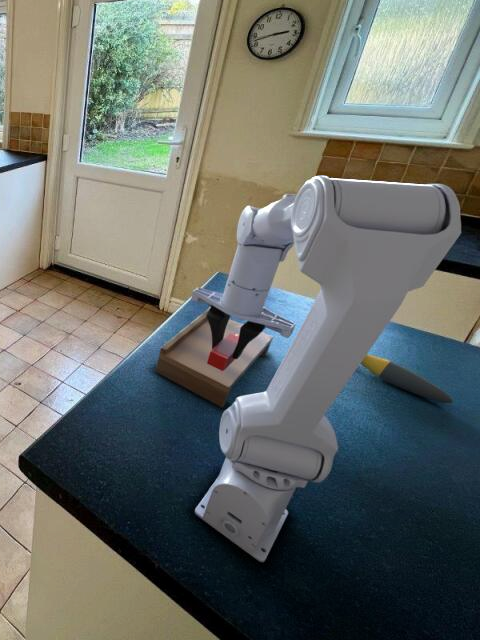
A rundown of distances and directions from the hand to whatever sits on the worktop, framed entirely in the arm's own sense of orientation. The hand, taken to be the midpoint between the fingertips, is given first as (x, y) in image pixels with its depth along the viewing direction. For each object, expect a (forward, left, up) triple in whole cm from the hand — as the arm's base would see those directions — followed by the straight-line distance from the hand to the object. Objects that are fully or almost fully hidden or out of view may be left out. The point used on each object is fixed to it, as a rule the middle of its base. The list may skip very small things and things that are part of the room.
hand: (226, 351), depth 71 cm
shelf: (+7, +3, -9) cm, 12 cm away
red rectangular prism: (0, 0, -1) cm, 1 cm away
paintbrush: (+27, -18, -9) cm, 34 cm away
